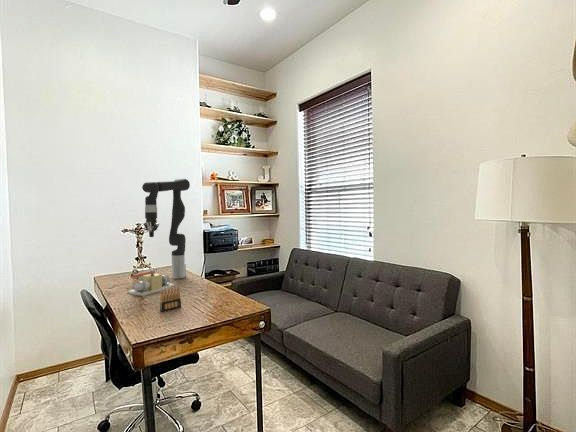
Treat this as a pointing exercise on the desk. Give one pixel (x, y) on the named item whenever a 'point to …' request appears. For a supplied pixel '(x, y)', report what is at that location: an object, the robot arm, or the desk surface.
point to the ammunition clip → (170, 299)
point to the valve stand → (151, 284)
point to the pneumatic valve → (141, 272)
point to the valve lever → (143, 273)
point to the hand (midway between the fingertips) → (151, 237)
